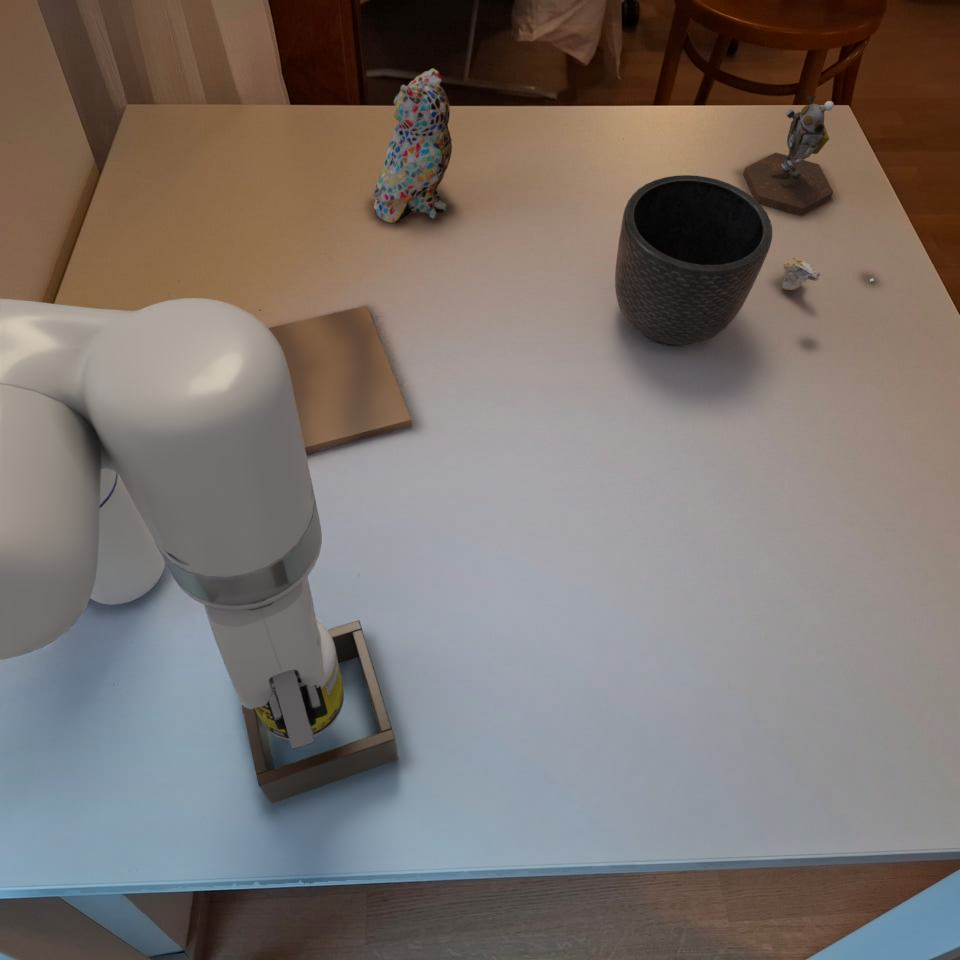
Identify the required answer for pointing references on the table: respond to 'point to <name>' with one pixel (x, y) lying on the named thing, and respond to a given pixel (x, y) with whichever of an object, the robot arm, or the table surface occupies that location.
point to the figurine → (416, 151)
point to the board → (341, 379)
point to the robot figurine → (794, 165)
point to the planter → (688, 257)
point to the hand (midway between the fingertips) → (290, 668)
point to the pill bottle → (329, 687)
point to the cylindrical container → (123, 547)
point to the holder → (337, 760)
